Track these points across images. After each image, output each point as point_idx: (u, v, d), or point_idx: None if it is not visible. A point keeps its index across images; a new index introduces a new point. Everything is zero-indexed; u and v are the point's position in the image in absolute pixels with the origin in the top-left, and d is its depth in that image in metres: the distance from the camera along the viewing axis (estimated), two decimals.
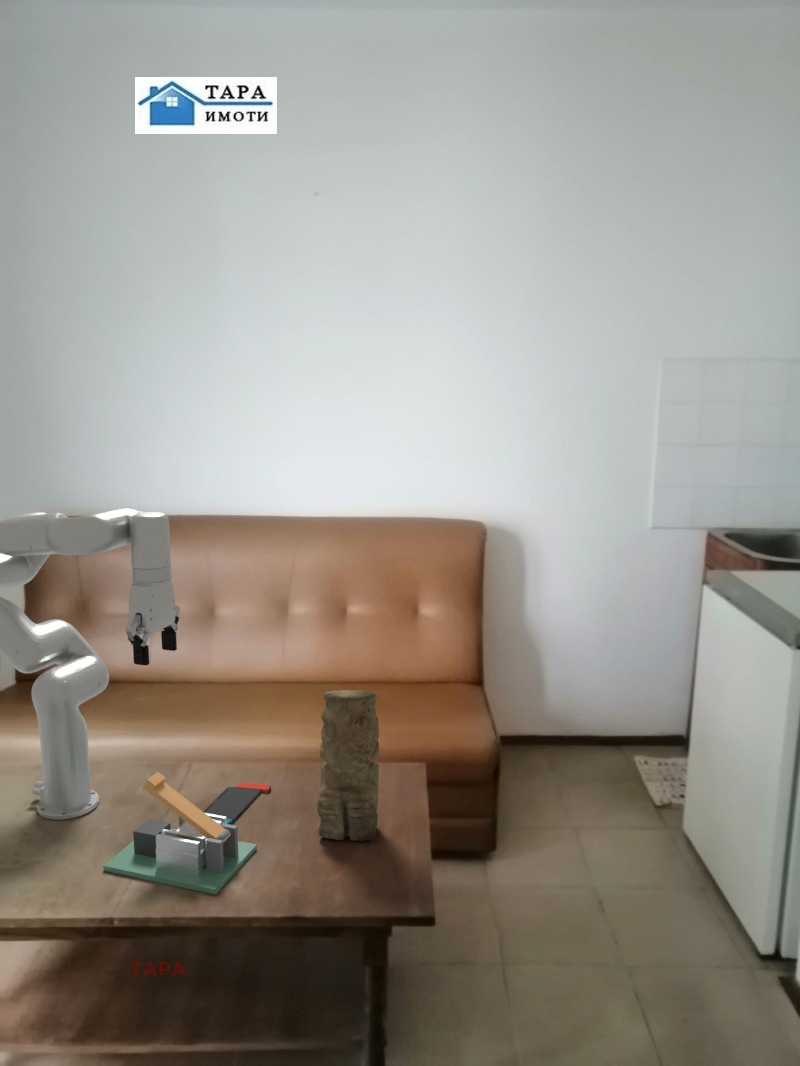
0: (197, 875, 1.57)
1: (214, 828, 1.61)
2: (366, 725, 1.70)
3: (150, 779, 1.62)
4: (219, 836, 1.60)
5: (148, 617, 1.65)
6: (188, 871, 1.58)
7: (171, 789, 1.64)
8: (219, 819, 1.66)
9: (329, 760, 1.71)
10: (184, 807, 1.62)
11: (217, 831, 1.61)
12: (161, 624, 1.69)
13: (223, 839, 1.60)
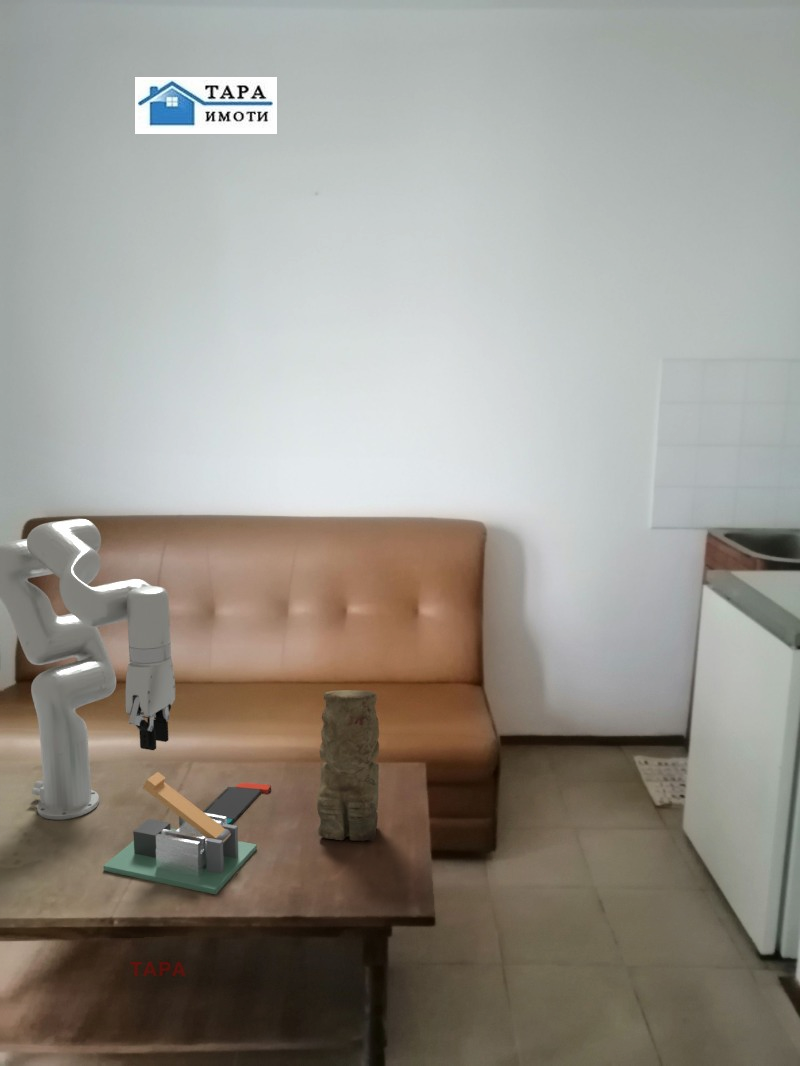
0: (197, 875, 1.57)
1: (214, 828, 1.61)
2: (366, 725, 1.70)
3: (150, 779, 1.62)
4: (219, 836, 1.60)
5: (146, 700, 1.55)
6: (188, 871, 1.58)
7: (171, 789, 1.64)
8: (219, 819, 1.66)
9: (329, 760, 1.71)
10: (184, 807, 1.62)
11: (217, 831, 1.61)
12: (160, 705, 1.59)
13: (223, 839, 1.60)
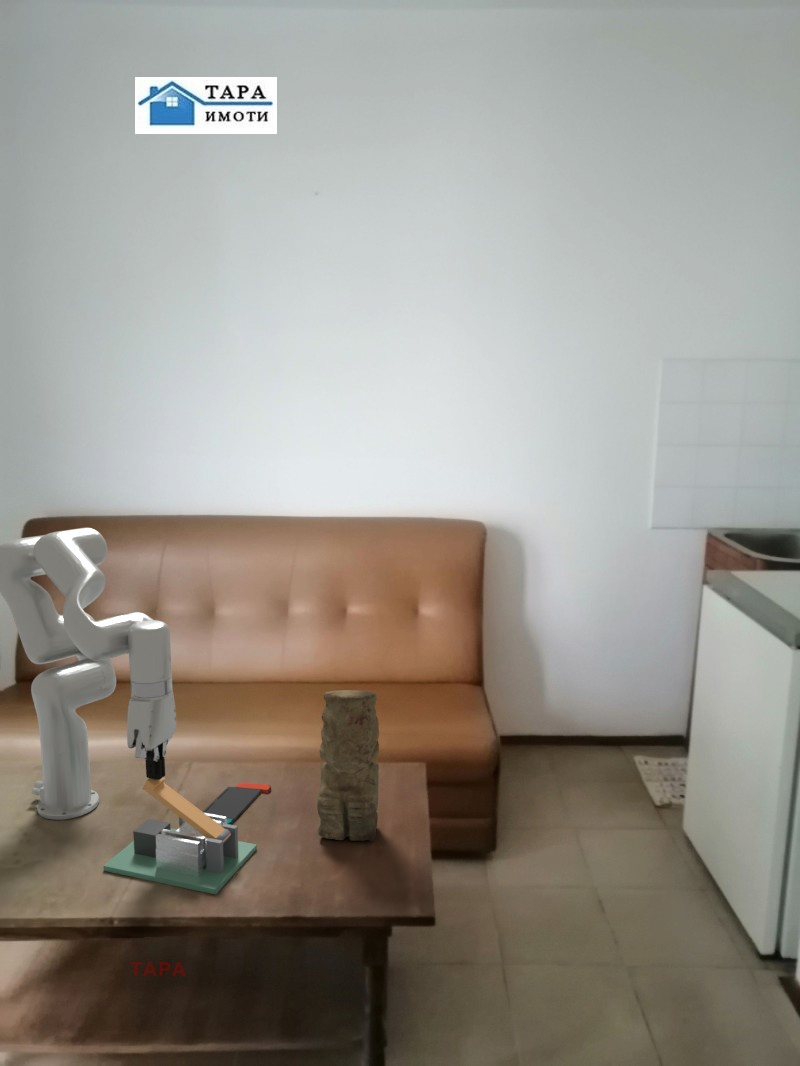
0: (197, 875, 1.57)
1: (214, 828, 1.61)
2: (365, 725, 1.70)
3: (150, 780, 1.62)
4: (219, 836, 1.60)
5: (147, 734, 1.56)
6: (188, 871, 1.58)
7: (171, 789, 1.64)
8: (219, 819, 1.66)
9: (329, 760, 1.71)
10: (183, 807, 1.62)
11: (217, 831, 1.61)
12: (161, 738, 1.60)
13: (223, 839, 1.60)
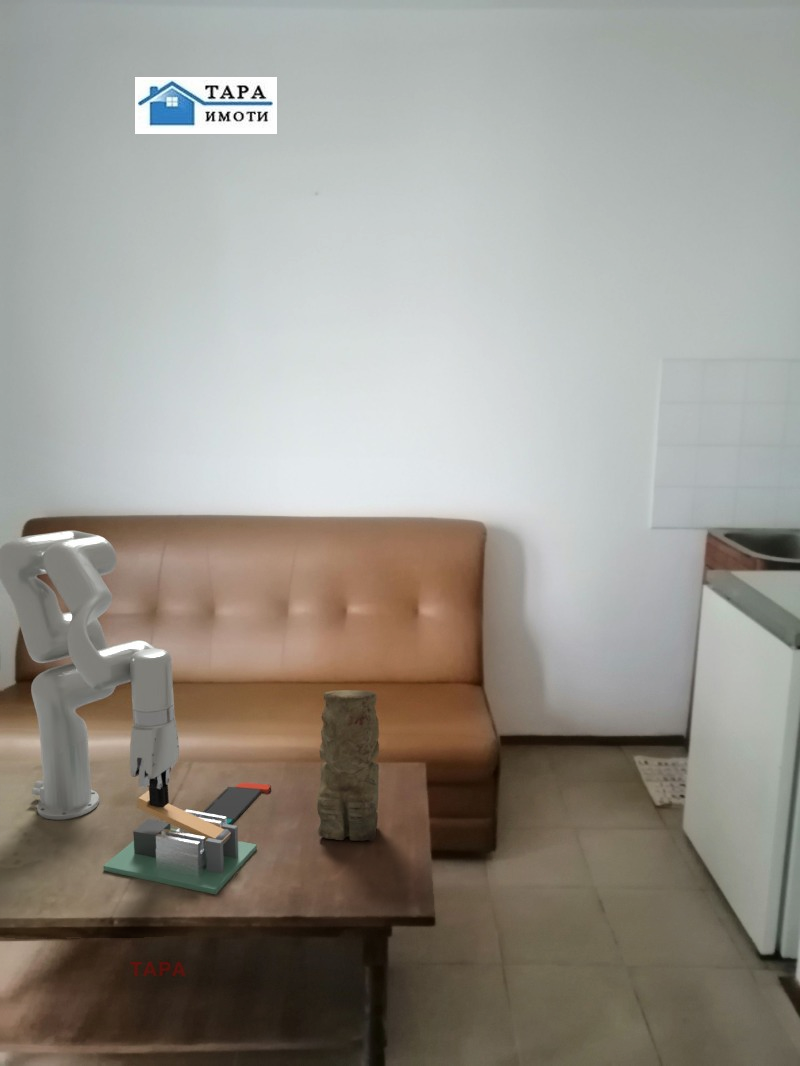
0: (197, 875, 1.57)
1: (212, 830, 1.61)
2: (365, 725, 1.70)
3: (141, 797, 1.64)
4: (218, 836, 1.60)
5: (150, 762, 1.57)
6: (188, 871, 1.58)
7: None
8: (219, 819, 1.66)
9: (329, 760, 1.71)
10: (179, 816, 1.63)
11: (216, 832, 1.61)
12: (164, 766, 1.61)
13: (222, 838, 1.60)
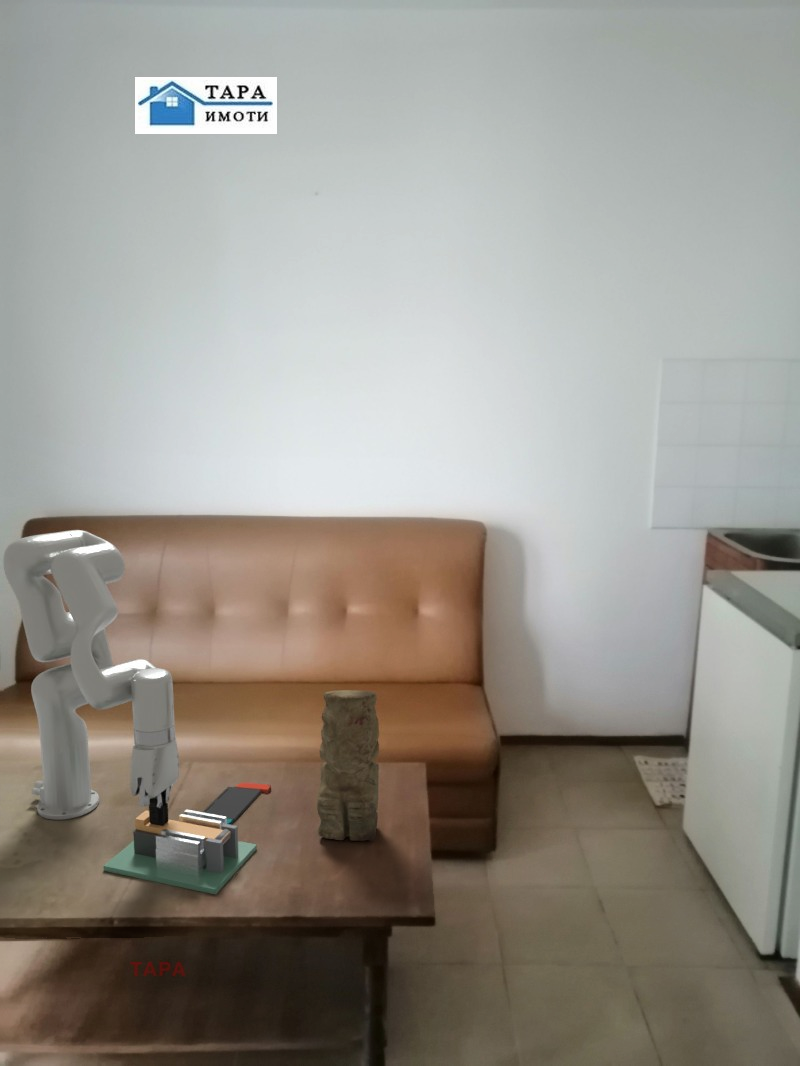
0: (197, 875, 1.57)
1: (211, 832, 1.61)
2: (365, 725, 1.70)
3: (138, 817, 1.65)
4: (217, 836, 1.60)
5: (151, 782, 1.58)
6: (188, 871, 1.58)
7: None
8: (219, 819, 1.66)
9: (329, 760, 1.71)
10: (178, 827, 1.63)
11: (215, 834, 1.61)
12: (164, 785, 1.62)
13: (222, 837, 1.60)
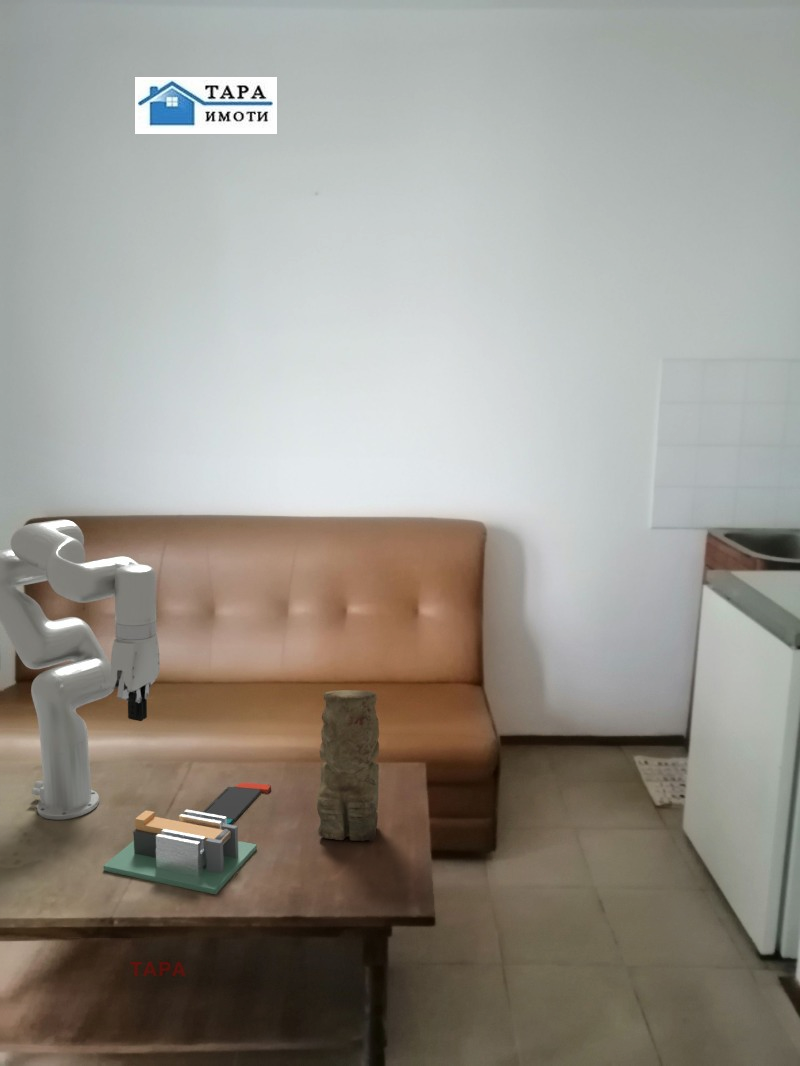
0: (197, 875, 1.57)
1: (211, 832, 1.61)
2: (366, 725, 1.70)
3: (138, 817, 1.65)
4: (217, 836, 1.60)
5: (130, 675, 1.59)
6: (188, 871, 1.58)
7: (163, 819, 1.66)
8: (219, 819, 1.66)
9: (329, 760, 1.71)
10: (178, 827, 1.63)
11: (215, 834, 1.61)
12: (144, 681, 1.63)
13: (222, 837, 1.60)
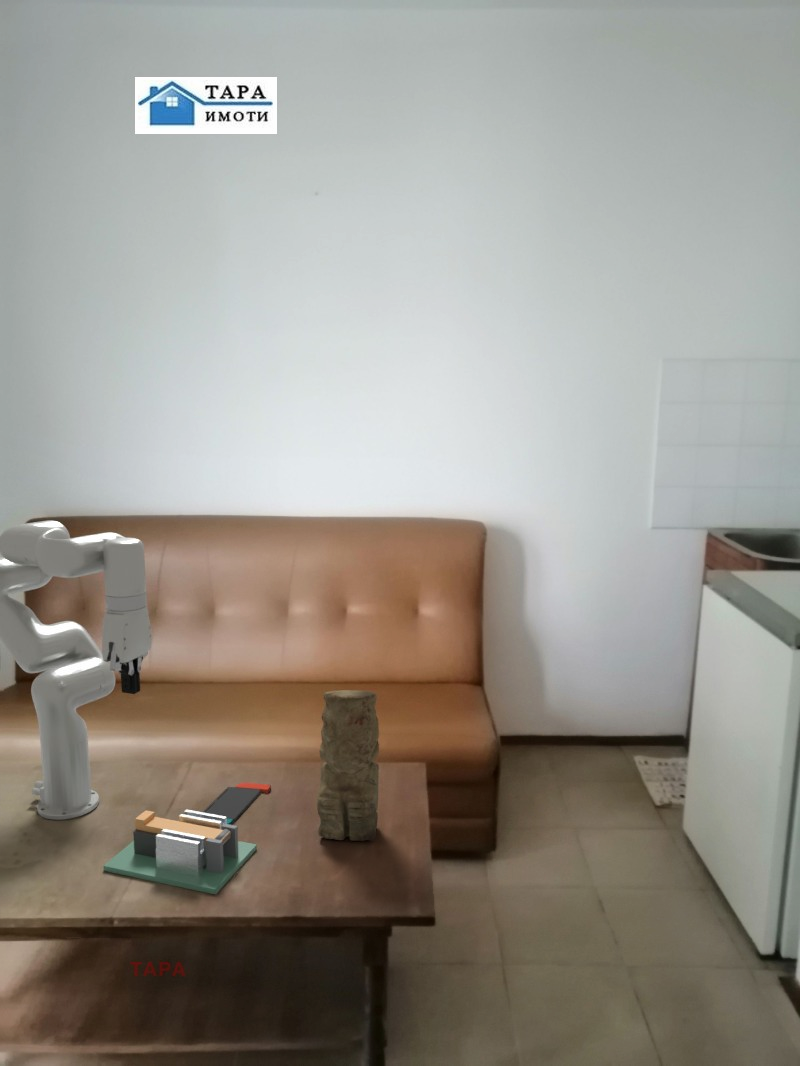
0: (197, 875, 1.57)
1: (211, 832, 1.61)
2: (365, 725, 1.70)
3: (138, 817, 1.65)
4: (217, 836, 1.60)
5: (122, 646, 1.61)
6: (188, 871, 1.58)
7: (163, 819, 1.66)
8: (219, 819, 1.66)
9: (329, 760, 1.71)
10: (178, 827, 1.63)
11: (215, 834, 1.61)
12: (136, 653, 1.65)
13: (222, 837, 1.60)
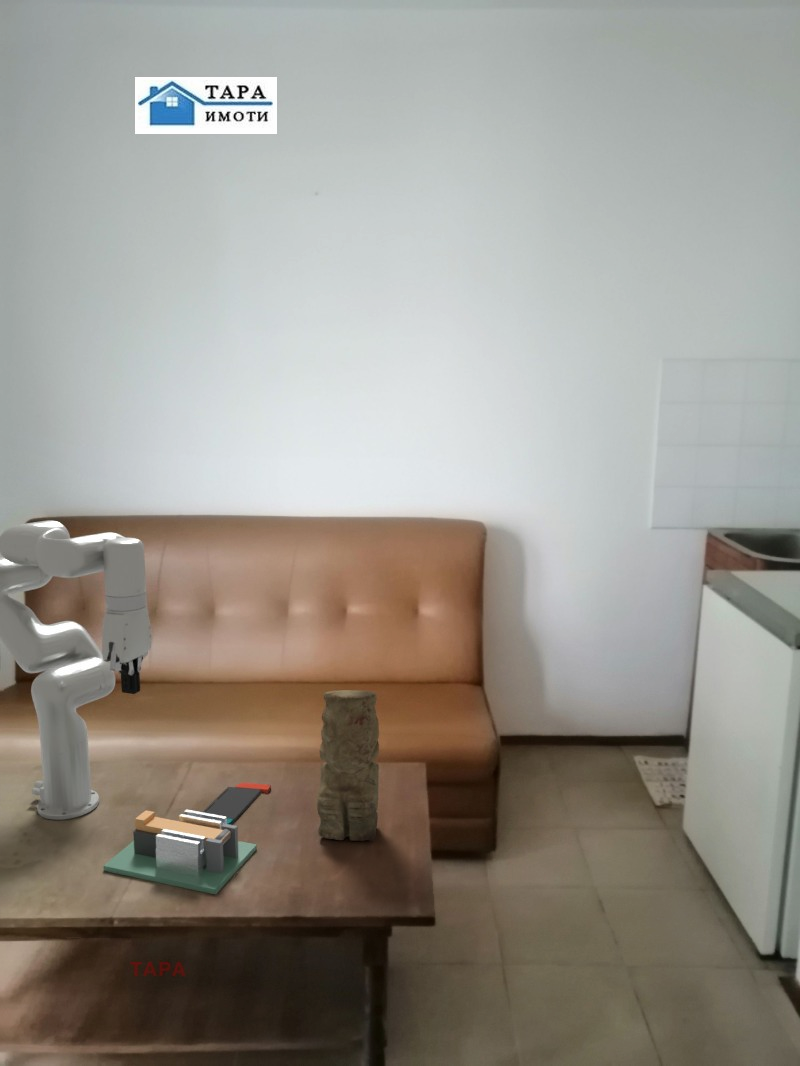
0: (197, 875, 1.57)
1: (211, 832, 1.61)
2: (365, 725, 1.70)
3: (138, 817, 1.65)
4: (217, 836, 1.60)
5: (122, 646, 1.61)
6: (188, 871, 1.58)
7: (163, 819, 1.66)
8: (219, 819, 1.66)
9: (329, 760, 1.71)
10: (178, 827, 1.63)
11: (215, 834, 1.61)
12: (136, 653, 1.65)
13: (222, 837, 1.60)
